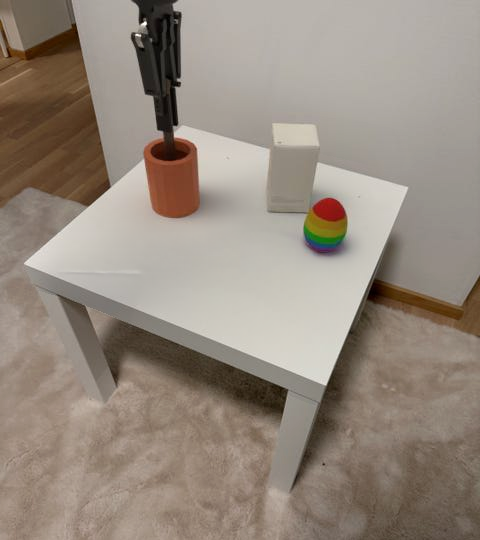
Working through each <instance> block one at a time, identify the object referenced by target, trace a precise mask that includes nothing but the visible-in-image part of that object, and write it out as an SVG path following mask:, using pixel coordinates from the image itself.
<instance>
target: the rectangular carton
mask: <svg viewBox="0 0 480 540" xmlns="http://www.w3.org/2000/svg"><path fill="white" fill-rule="evenodd" d="M317 130H318V129H317V125H316V124H312V123H311V124H308V123H301V124H300V123H283V122H273V123H271V130H270V131H271V132H270V143H269V158H268V166H267V168H268V169H267V181H266V206H267V207H266V208H267V212H276V213H278V212H279V213H280V212H281V213H304V214H305V213H306V214H308V212H309V210H310V206H311V201H312V195H313V188H314V183H315V178H316V172H317V166H318V161H319V155H320V149H321V145H320V140H319V135H318V131H317Z"/></svg>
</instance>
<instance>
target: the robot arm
mask: <svg viewBox="0 0 480 540" xmlns="http://www.w3.org/2000/svg"><path fill="white" fill-rule="evenodd" d="M178 1H179V0H130V2H132V3H134V4H135V5H136V6H137V8H138V17H137V19H138V26H139V27H138V30H137V31H131V33H130V40H131V43H132V44H133V47H134V50H135V55H136V58H137V64H138V68H139V73H140V77H141V82H142V83H141V84H142V87H143V92H144V95H145V96H149V97H152V99H153V106H154V107H153V108H154V115H155V123H156V124H155V125H156V130H157V131H159V132H162V133H163V132H168V133H171V132H172V122H171V111H170V101H169V94H166V83H165V77H166V78H168V79H169V81H170V84H171V86H170V97H171V107H172V118H173V127H178V126H179V114H178V113H179V112H178V102H177V100H178V99H177V90H176V89H177V88H181V86H182V81H179V80H180V79H181V78H182V47H181V46H182V44H181V43H182V41H181V39H182V38H181V37H182V36H181V27H182V18H183V13H182V12H181V11H179V10H178V11H177V10H175V9H174V4H176V3H177V2H178Z"/></svg>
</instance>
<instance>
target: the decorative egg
mask: <svg viewBox="0 0 480 540" xmlns="http://www.w3.org/2000/svg"><path fill="white" fill-rule="evenodd" d="M348 223H349V222H348V214H347V212H346V209H345V207H344V205H343V204H342V203H341V202H340V201H339V200H338V199H336V198H334V197H325V198H322V199H320V200H319V201H318V200H317V202H315V203H314V204H313V205H312V206H311V207H310V208H309V212H308V213H306V216H305V219H304V221H303V227H302V228H303V236H304V240H305V242H306V244H307V245H308V246H309V247H310V248H311V249H312V250H314V251H316V252H320V253H328V252H332V251H334V250H335V249H337V248H338V247H339V246H340V245H341V244H342V243H343V241H344V240H345V238H346V235H347V233H348V227H349V226H348V225H349V224H348Z"/></svg>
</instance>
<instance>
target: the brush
mask: <svg viewBox="0 0 480 540" xmlns="http://www.w3.org/2000/svg"><path fill="white" fill-rule="evenodd" d="M165 83H166V94H169V101H170V111H171V122H172V132H171V133H168V132H163V131H162V138H164V146H165V155H166V161H176V151H175V140H174V138H175V131H174V130H175V129H174V126H173V118H172V107H171V97H170V86H171V84H170V81H169V79H168V78H166V77H165Z"/></svg>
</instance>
